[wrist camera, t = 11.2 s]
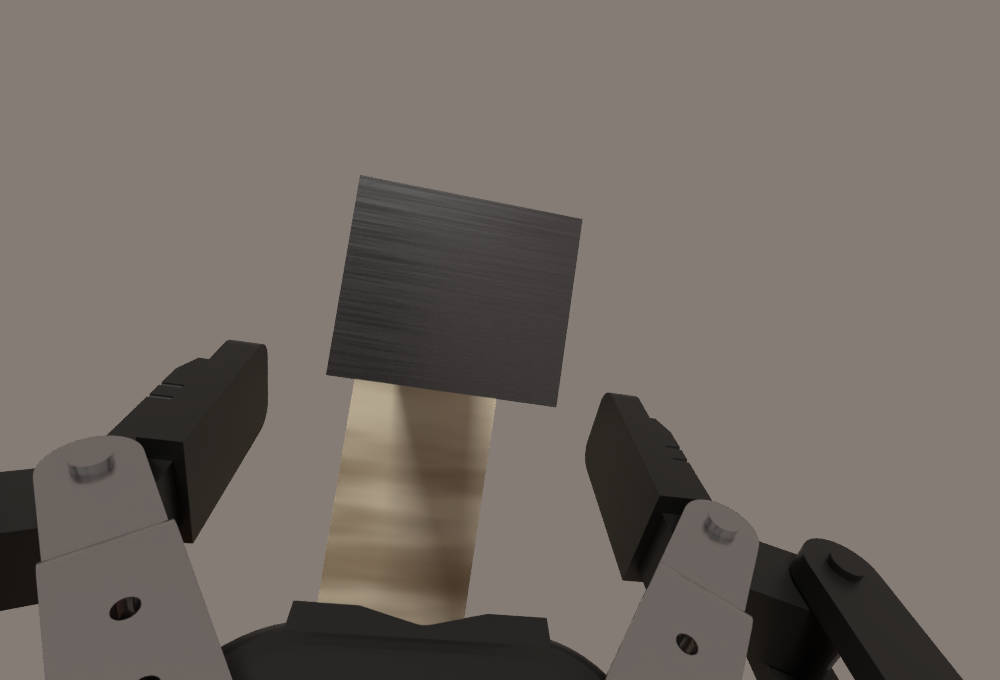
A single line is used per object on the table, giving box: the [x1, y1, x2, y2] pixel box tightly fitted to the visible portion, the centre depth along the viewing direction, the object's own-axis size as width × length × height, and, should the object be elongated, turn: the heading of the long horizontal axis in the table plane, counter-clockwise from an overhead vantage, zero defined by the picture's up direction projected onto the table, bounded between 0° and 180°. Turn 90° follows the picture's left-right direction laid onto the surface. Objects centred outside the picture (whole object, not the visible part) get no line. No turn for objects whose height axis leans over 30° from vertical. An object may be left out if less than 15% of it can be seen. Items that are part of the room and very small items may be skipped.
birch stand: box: [318, 379, 496, 625], centre depth 29 cm, size 10×7×32 cm
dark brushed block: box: [326, 175, 582, 407], centre depth 18 cm, size 20×4×3 cm, turn 9°
